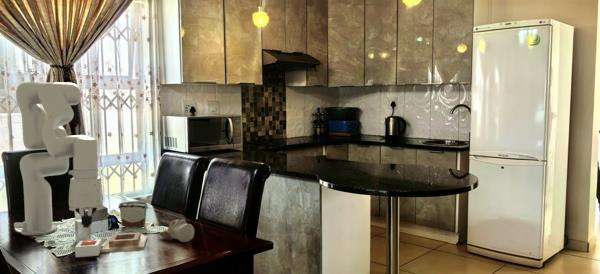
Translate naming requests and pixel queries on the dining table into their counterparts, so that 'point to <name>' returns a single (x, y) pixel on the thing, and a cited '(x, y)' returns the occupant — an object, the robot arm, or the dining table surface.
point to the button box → (88, 249)
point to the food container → (133, 213)
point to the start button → (88, 242)
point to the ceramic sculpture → (179, 230)
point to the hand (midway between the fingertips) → (86, 226)
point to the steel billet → (82, 231)
